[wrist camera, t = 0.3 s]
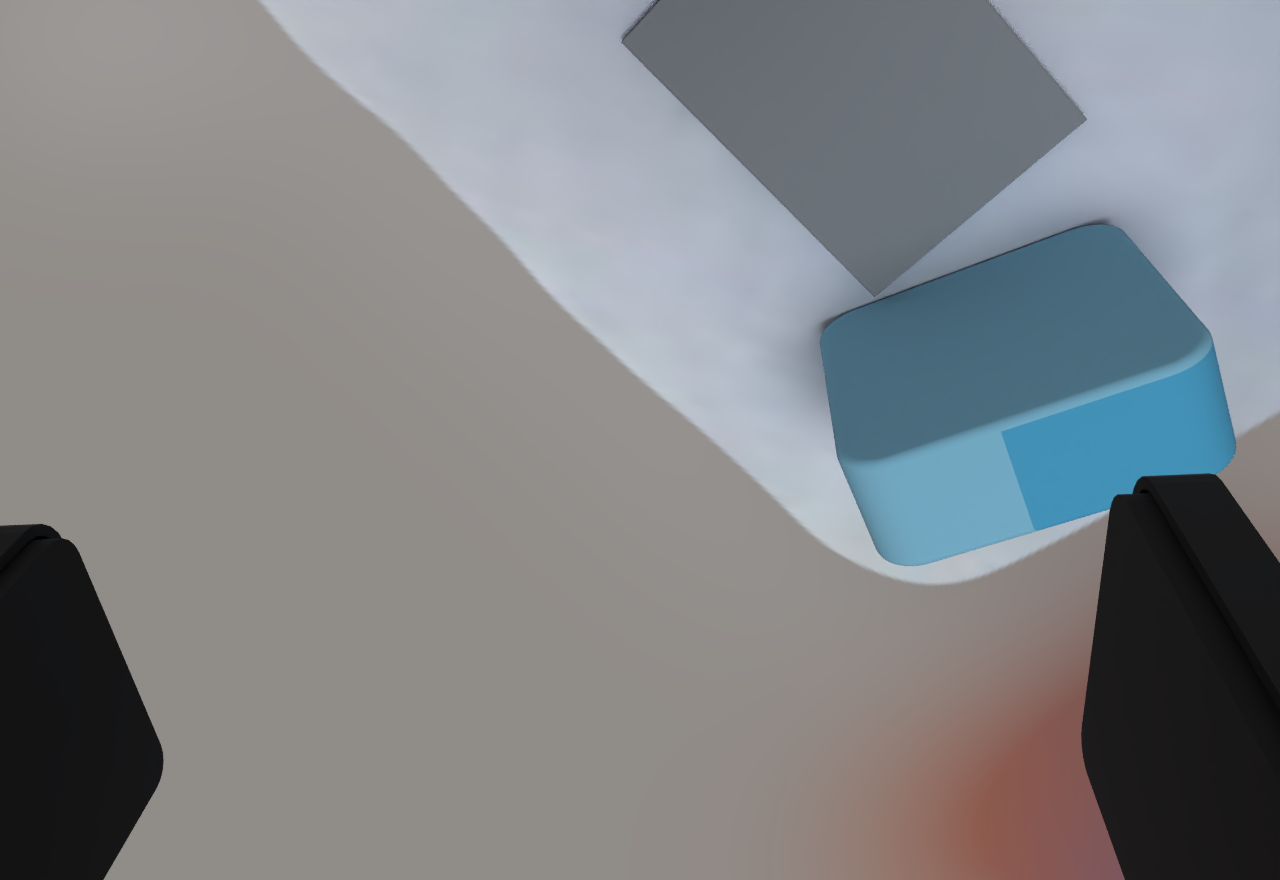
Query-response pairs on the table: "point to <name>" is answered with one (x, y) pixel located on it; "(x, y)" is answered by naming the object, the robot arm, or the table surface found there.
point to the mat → (863, 111)
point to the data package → (1020, 395)
